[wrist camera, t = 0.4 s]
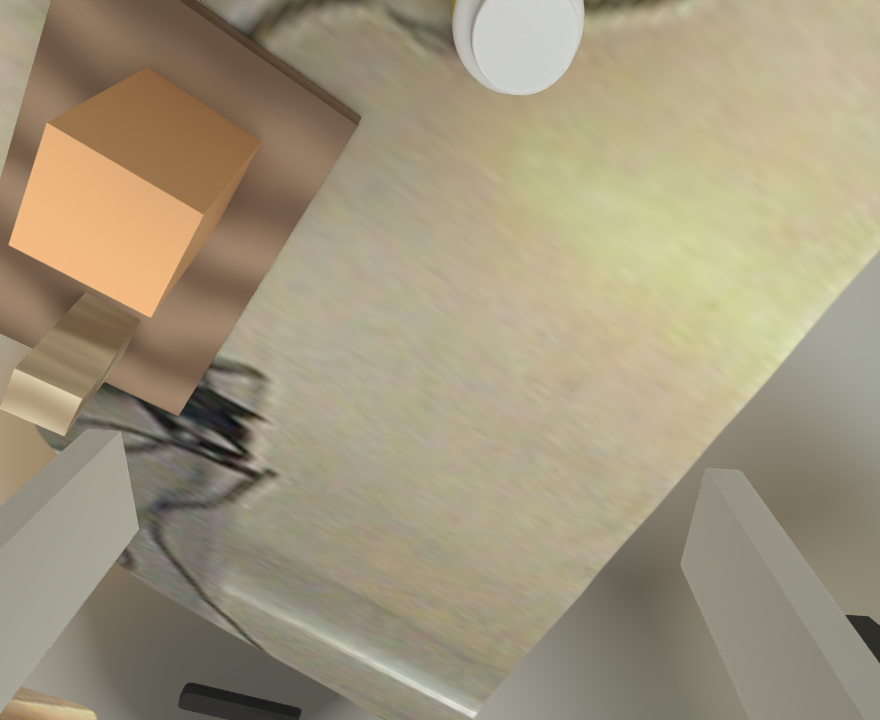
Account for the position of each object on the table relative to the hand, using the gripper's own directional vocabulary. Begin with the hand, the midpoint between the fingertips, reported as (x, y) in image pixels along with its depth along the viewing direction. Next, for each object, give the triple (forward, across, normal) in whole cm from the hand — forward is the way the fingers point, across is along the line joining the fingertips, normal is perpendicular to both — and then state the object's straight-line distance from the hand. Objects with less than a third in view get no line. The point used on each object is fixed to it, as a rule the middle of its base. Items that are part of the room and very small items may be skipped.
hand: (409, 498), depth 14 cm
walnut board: (+26, -18, 0) cm, 32 cm away
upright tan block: (+24, -15, +5) cm, 28 cm away
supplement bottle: (+24, +2, +13) cm, 27 cm away
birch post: (+26, -22, -7) cm, 35 cm away
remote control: (+42, -23, -64) cm, 80 cm away
